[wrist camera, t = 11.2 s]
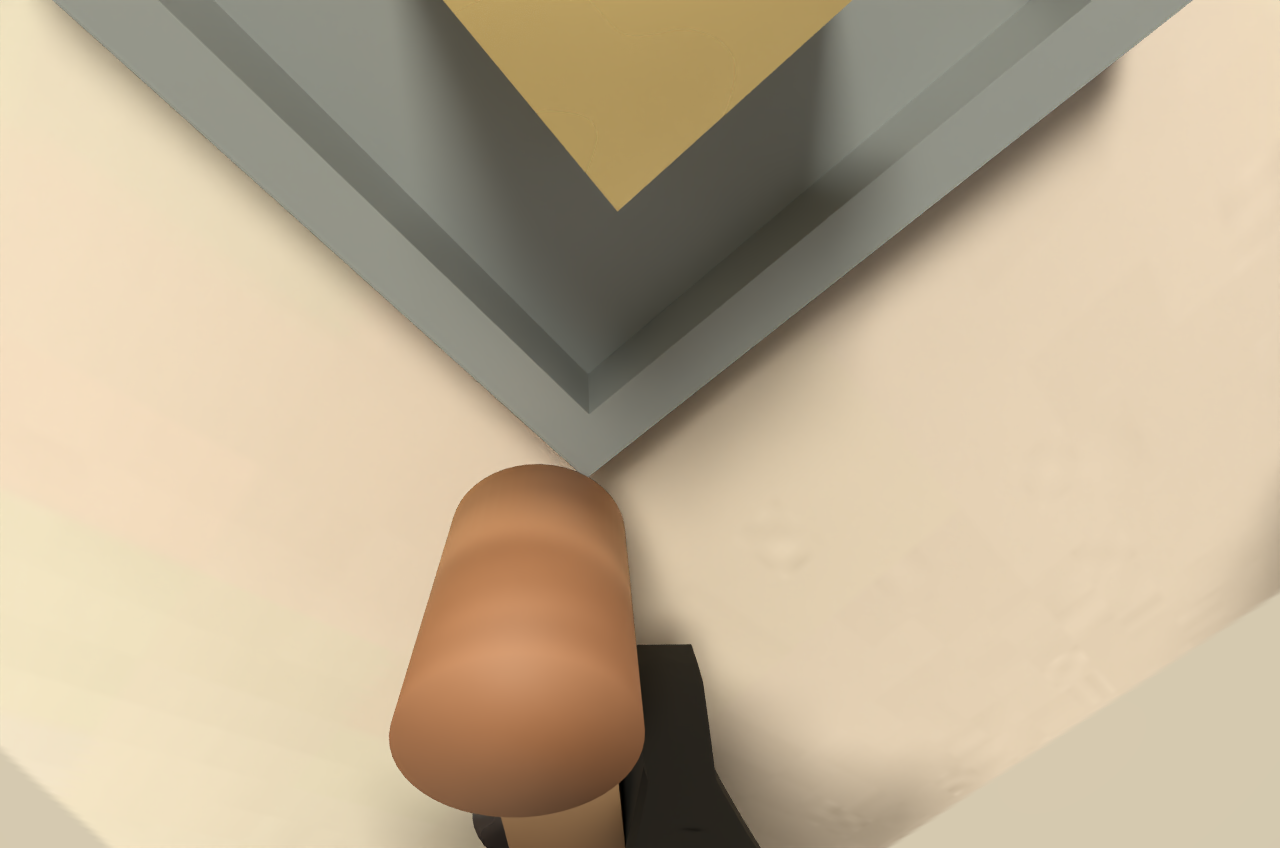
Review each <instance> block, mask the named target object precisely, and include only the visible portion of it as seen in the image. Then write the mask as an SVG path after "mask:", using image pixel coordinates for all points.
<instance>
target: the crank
mask: <svg viewBox="0 0 1280 848" xmlns="http://www.w3.org/2000/svg"><path fill="white" fill-rule="evenodd" d="M644 739H645V727H644V717H643V707H642V697H641V687H640V677H639V667H638V657H637V647H636V637H635V627H634V617H633V607H632V597H631V587H630V577H629V567H628V557H627V547H626V537H625V528H624V522H623V518H622V515H621V512H620V510H619V508H618V506H617V504H616V503H615V501H614V500H613V498H612V497H611V496H610V495H609V494H608V492H607V491H606V490H605V489H604V488H603V487H601V486H600V485H599V484H598V483H596V482H595V481H593V480H592V479H590V478H588V477H587V476H585V475H583V474H580V473H578V472H576V471H573V470H570V469H567V468H564V467H559V466H554V465H543V464H532V465H522V466H515V467H512V468H508V469H504V470H502V471H499V472H496V473H494V474H492V475H490V476H488V477H486V478H485V479H483V480H482V481H480V482H479V483H478V484H476V485H475V486H474V487H473V488H472V489H471V490H470V491H469V492H468V493H467V494H466V495H465V496H464V498H463V499H462V500H461V502H460V504H459V505H458V507H457V509H456V512H455V515H454V517H453V521H452V524H451V527H450V531H449V534H448V537H447V540H446V544H445V547H444V550H443V554H442V557H441V560H440V564H439V567H438V570H437V573H436V577H435V580H434V583H433V587H432V590H431V593H430V597H429V600H428V603H427V606H426V610H425V613H424V616H423V620H422V623H421V626H420V630H419V633H418V636H417V639H416V643H415V646H414V649H413V653H412V656H411V659H410V663H409V666H408V669H407V672H406V676H405V679H404V682H403V686H402V689H401V692H400V696H399V699H398V702H397V705H396V709H395V712H394V715H393V719H392V722H391V726H390V733H389V742H390V749H391V753H392V757H393V759H394V761H395V763H396V765H397V767H398V768H399V770H400V771H401V773H402V774H403V775H404V777H405V778H406V779H407V780H408V781H409V782H410V783H411V784H412V785H413V786H415V787H416V788H417V789H419V790H420V791H421V792H423V793H424V794H426V795H427V796H429V797H431V798H433V799H434V800H436V801H438V802H441V803H443V804H445V805H447V806H450V807H453V808H456V809H459V810H462V811H466V812H470V813H474V814H480V815H486V816H494V817H501V819H502V823H503V826H504V830H505V834H506V838H507V842H508V846H509V848H625V836H624V822H623V808H622V794H621V781H622V780H623V779H624V778H625V777H626V776H627V775H628V774H629V772H630V771H631V770H632V769H633V767H634V766H635V764H636V762H637V761H638V759H639V757H640V754H641V752H642V749H643V744H644Z"/></svg>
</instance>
